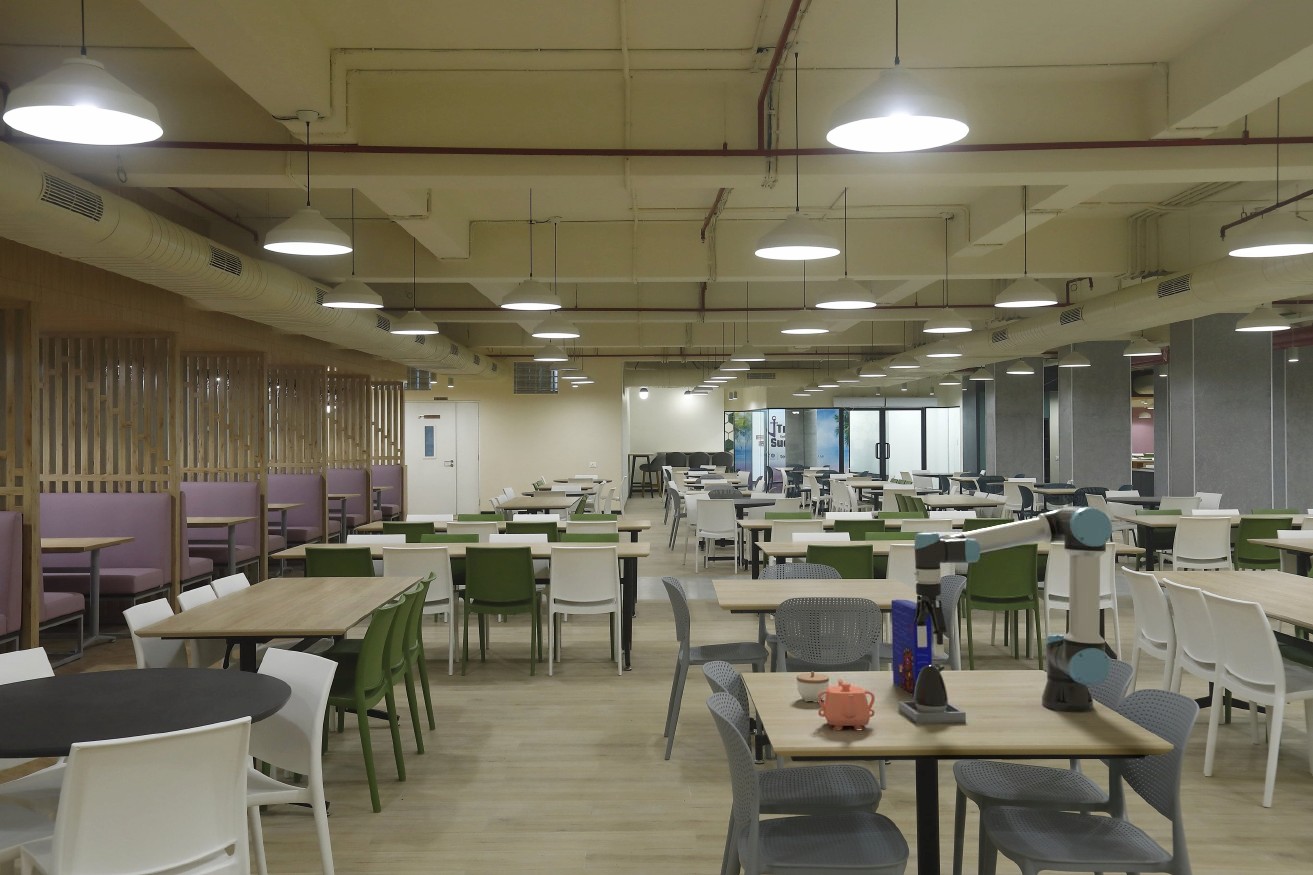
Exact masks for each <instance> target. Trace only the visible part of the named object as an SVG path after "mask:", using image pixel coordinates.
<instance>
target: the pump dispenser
mask: <svg viewBox="0 0 1313 875" xmlns="http://www.w3.org/2000/svg"><path fill="white" fill-rule="evenodd" d="M944 669H945V666H944V665H941V666H939V667H937V666H936V665H934V664H932V665H926V666H924V667H923V668H922V669H921V671H920V673H919V676H918V679H917V682H916V686H915V692H914V696H913V701H914V702H915V705H916V707H917V709H918V711H919V712H920V713H933V712H944V711H945V710H946V707H947V704H948V702H949V697H948V690H947V687H946V684H945V680H944V678H943V675H942V674H941V672H942V671H944Z"/></svg>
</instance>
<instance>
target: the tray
mask: <svg viewBox="0 0 1313 875" xmlns="http://www.w3.org/2000/svg"><path fill="white" fill-rule="evenodd" d="M897 702H898V704H897V705H898V712H900V714H901V715H903V716H905V717H906V718H907V719H909V720H910V721H912V722H913V723H914V724H916V725H928V724H929V725H931V724H933V725H935V724H937V725H938V724H960V723H962V724H963V723H964V724H965V723H966V722H967V720H966V719H967V716H966V714H967V713H966V711H964V710H962V709H961V708H960V707H958V706H955V705H954V704H953V703H951V702H949V701H948V704H947V707H946V710H945V711H944V712H933V713H920V712H919V711H918V709H917V707H916V705H915V702H914V700H907V701H906V700H905V701H903V700H901V701H900V700H899V701H897Z"/></svg>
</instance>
